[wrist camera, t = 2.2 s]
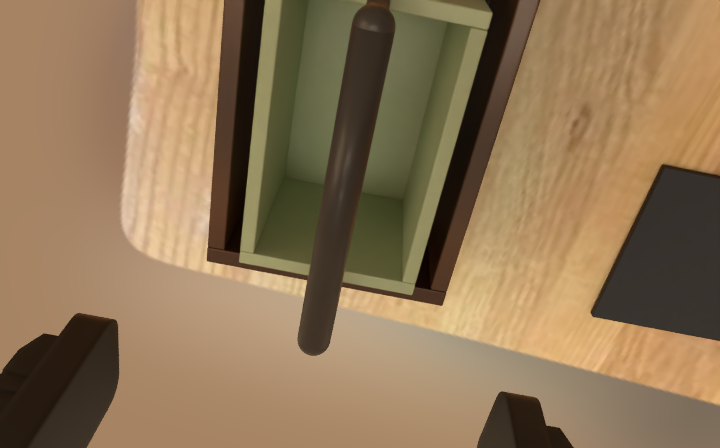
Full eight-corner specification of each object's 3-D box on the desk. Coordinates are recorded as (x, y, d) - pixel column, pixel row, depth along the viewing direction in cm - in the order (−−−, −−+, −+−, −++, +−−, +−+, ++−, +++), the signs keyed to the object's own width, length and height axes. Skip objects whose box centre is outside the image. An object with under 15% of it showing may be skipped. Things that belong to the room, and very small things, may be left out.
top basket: (304, -66, 27) (232, -22, 16) (473, -31, 27) (519, 37, 16) (273, 185, 33) (205, 343, 22) (409, 212, 33) (411, 381, 22)
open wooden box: (268, -114, 26) (231, -110, 21) (523, -60, 27) (554, -42, 21) (239, 197, 34) (206, 261, 29) (436, 235, 35) (442, 306, 29)
